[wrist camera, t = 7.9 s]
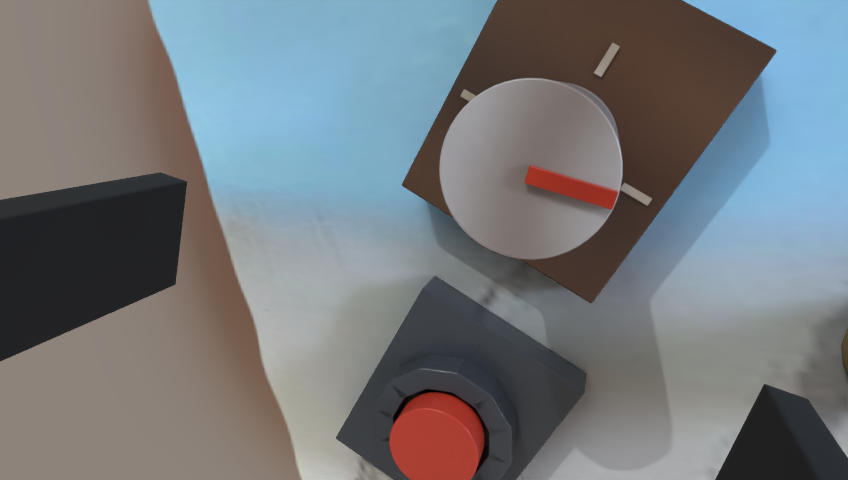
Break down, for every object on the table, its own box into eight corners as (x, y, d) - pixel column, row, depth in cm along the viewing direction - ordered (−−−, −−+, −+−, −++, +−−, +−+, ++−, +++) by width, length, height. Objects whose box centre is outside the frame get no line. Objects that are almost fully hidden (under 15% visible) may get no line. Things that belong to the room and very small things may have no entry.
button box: (434, 275, 32) (412, 298, 29) (587, 372, 31) (583, 411, 27) (350, 419, 37) (321, 456, 33) (480, 510, 35) (464, 559, 32)
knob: (479, 185, 27) (417, 230, 18) (512, 68, 25) (461, 56, 17) (593, 222, 26) (585, 287, 17) (637, 100, 24) (652, 106, 15)
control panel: (544, -59, 26) (536, -78, 23) (759, 54, 25) (779, 50, 22) (419, 177, 31) (399, 186, 28) (593, 284, 30) (591, 305, 27)
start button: (425, 374, 30) (414, 391, 28) (501, 426, 29) (495, 446, 28) (386, 436, 32) (374, 454, 30) (458, 486, 31) (449, 508, 29)
